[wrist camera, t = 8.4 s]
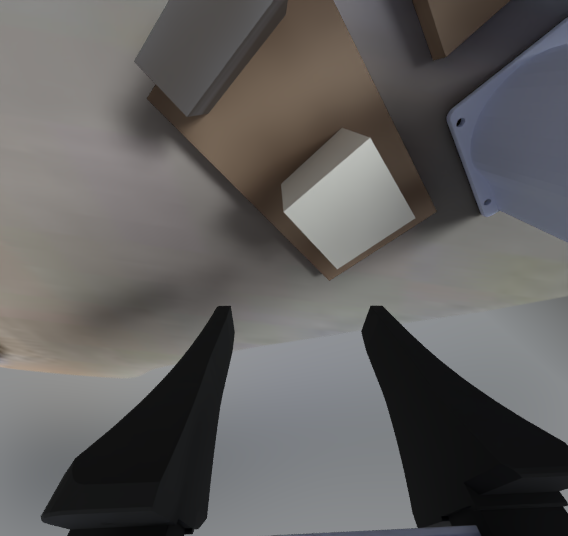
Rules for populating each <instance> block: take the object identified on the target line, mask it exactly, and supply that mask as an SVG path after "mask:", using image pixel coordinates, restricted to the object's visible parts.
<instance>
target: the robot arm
mask: <svg viewBox="0 0 568 536" xmlns="http://www.w3.org/2000/svg"><path fill="white" fill-rule="evenodd" d="M460 118H461V122H460V124H459V125H458V126H456V123H457V121H458V120H459V119H460ZM447 123H448V126H449V128H450V131H451V134H452V137H453V139H454V142H455V145H456V147H457V150H458V153H459V156H460V158H461V161H462V164H463V166H464V169H465V172H466V175H467V177H468V180H469V183H470V185H471V188H472V191H473V194H474V196H475V199H476V202H477V205H478V207H479V210H480V213H481V214H482V215H483V216H486V217H488V216H491V215H493V214H495V213H496V212H498V211H502V212H504V213H506V214H508V215H511V216H513V217H515V218H517V219H519V220H521V221H523V222H525V223H527V224H530V225H532V226H534V227H536V228H538V229H540V230H542V231H544V232H547V233H549V234H551V235H553V236H555V237H557V238H559V239H561V240H563V241H566V242H568V17H567V18H566V19H564V20H563V21H562V22H561V23H559V24H558V25H557V26H556V27H554V28H553V29H552V30H551V31H549V32H548V33H547V34H545V35H544V36H543V37H542V38H540V39H539V40H538V41H537V42H535V43H534V44H533V45H532V46H530V47H529V48H528V49H527V50H525V51H524V52H523V53H521V54H520V55H519V56H518V57H516V58H515V59H514V60H513V61H511V62H510V63H509V64H508V65H506V66H505V67H504V68H503V69H501V70H500V71H499V72H497V73H496V74H495V75H494V76H492V77H491V78H490V79H489V80H487V81H486V82H485V83H484V84H482V85H481V86H480V87H479V88H477V89H476V90H475V91H473V92H472V93H471V94H470V95H468V96H467V97H466V98H465V99H463V100H462V101H461V102H460V103H458V104H457V105H456V106H454V107H453V108H452V109H451V110H450V111H449V113H448V115H447ZM486 200H487V201H486ZM485 201H486V202H485ZM484 202H485V203H484ZM361 332H362V336H363V340H364V344H365V348H366V351H367V354H368V356H369V359H370V362H371V364H372V367H373V369H374V372H375V374H376V377H377V379H378V382H379V385H380V387H381V390H382V392H383V395H384V398H385V401H386V404H387V407H388V411H389V414H390V418H391V421H392V424H393V428H394V432H395V436H396V440H397V444H398V447H399V451H400V456H401V460H402V464H403V468H404V473H405V478H406V482H407V487H408V492H409V497H410V501H411V507H412V512H413V515H414V518H415V521H416V524H417V527H418V528H411V529H392V530H372V531H352V532H332V533H312V534H294V535H293V534H292V535H273V536H568V513H567V512H566V510H565V509H564V507H563V506H567V505H568V503H567V501H566V500H565V499H564V497H563V496H562V494H561V493H560V492H559V491H561V490H564V489H568V445H567V444H566V443H565V442H563V441H561V440H560V439H558V438H556V437H554V436H553V435H551V434H549V433H547V432H546V431H544V430H542V429H540V428H539V427H537V426H535V425H534V424H532V423H530V422H528V421H526V420H525V419H523V418H522V417H520V416H518V415H516V414H515V413H514V412H512V411H510V410H509V409H507V408H505V407H504V406H502V405H501V404H499V403H498V402H496V401H495V400H493V399H492V398H490V397H489V396H487V395H486V394H484V393H483V392H481V391H480V390H479V389H477V388H476V387H474V386H473V385H471V384H470V383H469V382H467V381H466V380H464V379H463V378H462V377H460V376H459V375H458V374H457V373H455V372H454V371H453V370H452V369H450V368H449V367H448V366H447V365H445V364H444V363H443V362H442V361H440V360H439V359H438V358H437V357H436V356H435V355H433V354H432V353H431V352H430V351H429V350H428V349H426V348H425V347H424V346H423V345H422V344H421V343H420V342H419V341H417V339H416V338H414V337H413V336H412V335H411V334H410V333H409V332H408V331H407V330H406V329H405V328H404V327H403V326H402V325H401V324H400V323H399V322H398V321H397V320H396V319H395V318H394V317H393V316H392V315H391V314H390V313H389V312H388V311H387V310H386V309H385V308H384V307H383V306H370V309H369V312H368V314H367V317H366V320H365V323H364V325H363V328H362V331H361ZM234 333H235V331H234V325H233V318H232V311H231V306H218V307H217V308H216V310H215V311H214V313H213V315H212V316H211V318H210V320H209V321H208V323H207V324H206V326H205V327H204V329H203V330H202V332H201V333H200V334H199V336H198V337H197V339H196V340H195V341H194V343H193V344H192V345H191V347H190V348H189V349H188V351H187V352H186V353H185V354H184V356H183V357H182V358H181V359H180V361H179V362H178V363H177V364H176V365H175V367H174V368H173V369H172V370H171V371H170V372H169V373H168V375H167V376H166V377H165V378H164V379H163V380H162V381H161V382H160V383H159V384H158V385H157V386H156V387H155V388H154V389H153V390H152V391H151V392H150V393H149V394H148V395H147V396H146V397H145V398H144V399H143V400H142V401H141V402H140V403H139V404H138V405H137V406H136V407H135V408H134V409H133V410H131V411H130V412H129V413H128V414H127V415H126V416H125V417H124V418H123V419H122V420H120V421H119V422H118V423H117V424H116V425H115V426H114V427H113V428H111V429H110V430H109V431H108V432H107V433H105V434H104V435H103V436H102V437H101V438H99V439H98V440H97V441H96V442H95V443H93V444H92V445H91V446H90V447H89V448H87V449H86V450H85V451H84V452H82V453H81V454H80V455H79V456H78V457H77V458H75V460H74V461H73V463H72V464H71V466H70V467H69V469H68V470H67V472H66V473H65V475H64V476H63V478H62V480H61V482H60V483H59V485H58V487H57V489H56V490H55V492H54V494H53V496H52V497H51V499H50V501H49V503H48V505H47V506H46V509H45V510H44V512H43V514H42V516H41V520H42V521H43V522H44V523H47V524H50V525H54V526H59V527H62V528H67V529H70V531H69V533H68V535H67V536H184V534H193V532H194V529H198V528H199V527H200V526H201V525H202V524H203V522H204V521H205V520H206V518H207V511H208V502H209V492H210V483H211V474H212V465H213V457H214V449H215V441H216V433H217V426H218V419H219V411H220V405H221V400H222V395H223V390H224V386H225V382H226V377H227V373H228V369H229V364H230V360H231V355H232V350H233V342H234Z"/></svg>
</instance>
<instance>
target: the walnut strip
mask: <svg viewBox="0 0 568 536" xmlns="http://www.w3.org/2000/svg"><path fill="white" fill-rule="evenodd" d="M134 62H135V63H136V64H137V65H138V66H139V67H140V68H141V69H142V70H143V71H144V72H145V73H146V75H147V76H148V77H149V78H150V79H151V80H152V81H153V82H154V83H155V84H156V85H155V86H154V88H153V89H152V91H151V93H150V94H149V96H148V97H147V99H148V100H149V101H150V102H151V103H152V104H153V105H154V106H155V107H156V108H157V109H158V110H159V111H160V112H161V113H162V114H163V115H164V116H165V117H166V118H167V119H168V120H169V121H170V122H171V123H172V124H173V125H174V126H175V127H176V128H177V129H178V130H179V131H180V132H181V133H182V134H183V135H184V136H185V137H186V138H187V139H188V140H189V141H190V142H191V143H192V144H193V145H194V146H195V147H196V148H197V149H198V150H199V151H200V152H201V153H202V154H203V155H204V156H205V157H206V158H207V159H208V160H209V161H210V162H211V163H212V164H213V165H214V166H215V167H216V168H217V169H218V170H219V171H220V172H221V173H222V174H223V175H224V176H225V177H226V178H227V179H228V180H229V181H230V182H231V183H232V184H233V185H234V186H235V187H236V188H237V189H238V190H239V191H240V192H241V193H242V194H243V195H244V196H245V197H246V198H247V199H248V200H249V201H250V202H251V203H252V204H253V205H254V206H255V207H256V208H257V209H258V210H259V211H260V212H261V213H262V214H263V215H264V216H265V217H266V218H267V219H268V220H269V221H270V222H271V223H272V224H273V225H274V226H275V227H276V228H277V229H278V230H279V231H280V232H281V233H282V234H283V235H284V236H285V237H286V238H287V239H288V240H289V241H290V242H291V243H292V244H293V245H294V246H295V247H296V248H297V249H298V250H299V251H300V252H301V253H302V254H303V255H304V256H305V257H306V258H307V259H308V260H309V261H310V262H311V263H312V264H313V265H314V266H315V267H316V268H317V269H318V270H319V271H320V272H321V273H322V274H323V275H324V276H325V277H326V278H327V279H328V280H329V281H330V280H331V279H333V278H334V277H336V276H338V275H339V274H341V273H342V272H344V271H345V270H347V269H348V268H350V267H352V266H353V265H355V264H356V263H358V262H359V261H361V260H362V259H364V258H366V257H367V256H369V255H370V254H372V253H373V252H375V251H377V250H378V249H380V248H381V247H383V246H384V245H386V244H387V243H389V242H391V241H392V240H394V239H395V238H397V237H398V236H400V235H401V234H403V233H405V232H406V231H408V230H409V229H411V228H412V227H414V226H415V225H417V224H419V223H420V222H422V221H423V220H425V219H426V218H428V217H429V216H431V215H433V214H434V213H436V212H437V210H436V208H435V206H434V204H433V202H432V200H431V198H430V196H429V194H428V192H427V190H426V188H425V186H424V184H423V182H422V180H421V178H420V176H419V174H418V172H417V170H416V168H415V166H414V164H413V162H412V160H411V158H410V156H409V154H408V152H407V149H406V147H405V145H404V143H403V141H402V139H401V137H400V135H399V133H398V131H397V129H396V127H395V125H394V123H393V121H392V119H391V117H390V115H389V113H388V111H387V109H386V107H385V105H384V103H383V101H382V99H381V97H380V95H379V93H378V91H377V88H376V86H375V84H374V82H373V80H372V78H371V76H370V74H369V72H368V70H367V68H366V66H365V64H364V62H363V60H362V58H361V56H360V54H359V52H358V50H357V48H356V46H355V44H354V42H353V40H352V38H351V36H350V34H349V32H348V29H347V27H346V25H345V23H344V21H343V19H342V17H341V15H340V13H339V11H338V9H337V7H336V5H335V3H334V1H333V0H169V1H168V3H167V5H166V6H165V8H164V10H163V12H162V13H161V15H160V17H159V19H158V20H157V22H156V24H155V26H154V27H153V29H152V31H151V33H150V34H149V36H148V38H147V40H146V41H145V43H144V45H143V47H142V48H141V50H140V52H139V54H138V55H137V57H136V59H135V61H134ZM341 128H344V129H347V130H350V131H353V132H356V133H358V134H361V135H364V136H367V137H370V138H371V140H372V142H373V144H374V145H375V147H376V149H377V151H378V152H379V154H380V156H381V158H382V159H383V161H384V163H385V165H386V167H387V168H388V170H389V172H390V174H391V175H392V177H393V179H394V181H395V183H396V184H397V186H398V188H399V190H400V191H401V193H402V195H403V197H404V198H405V200H406V202H407V204H408V206H409V207H410V209H411V211H412V213H413V214H414V216H415V219H413V220H412V221H410V222H409V223H407V224H406V225H404V226H403V227H401V228H400V229H398V230H397V231H395V232H394V233H392V234H390V235H389V236H387V237H386V238H384V239H383V240H381V241H380V242H378V243H377V244H375V245H374V246H372V247H371V248H369V249H368V250H366V251H365V252H363V253H361V254H360V255H358V256H357V257H355V258H354V259H352V260H351V261H349V262H348V263H346V264H345V265H343V266H342V267H340V268H339V269H336V268H335V266H334V265H333V264H332V263H331V262H330V261H329V260H328V259H327V258H326V257H325V256H324V255H323V254H322V253H321V251H320V250H319V249H318V248H317V247H316V246H315V245H314V244H313V243H312V242H311V241H310V240H309V239H308V238H307V236H306V235H305V234H304V233H303V232H302V231H301V230H300V229H299V228H298V227H297V226H296V225H295V224H294V223H293V221H292V220H291V219H290V218H289V217H288V216H287V215H286V214H285V213H284V212H283V200H282V189H281V184H282V183H283V182H284V181H285V180H286V179H287V178H288V177H289V176H290V175H291V174H292V173H294V172H295V171H296V170H297V169H298V168H299V167H300V166H301V165H302V164H303V163H304V162H305V161H307V160H308V159H309V158H310V157H311V156H312V155H313V154H314V153H315V152H316V151H317V150H318V149H320V148H321V147H322V146H323V145H324V144H325V143H326V142H327V141H328V140H329V139H330V138H332V137H333V136H334V135H335V134H336V133H337V132H338V131H339V130H340V129H341Z"/></svg>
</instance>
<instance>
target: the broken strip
mask: <svg viewBox="0 0 568 536" xmlns="http://www.w3.org/2000/svg"><path fill="white" fill-rule="evenodd" d="M412 1H413V4H414V7H415V10H416V13H417V16H418V19H419V21H420V24H421V27H422V30H423V33H424V36H425V38H426V41H427V44H428V47H429V50H430V53H431V56H432V58H433V61H434V60H437V59H441V58H445V57H447V56H448V55H449V54H450V53H451V52H452V51H453V50H455V49H456V48H457V47H458V46H459V45H460V44H461V43H463V42H464V41H465V40H466V39H467V38H468V37H469V36H471V35H472V34H473V33H474V32H475V31H476V30H477V29H478V28H480V27H481V26H482V25H483V24H484V23H485V22H486V21H488V20H489V19H490V18H491V17H492V16H493V15H494V14H495V13H497V12H498V11H499V10H500V9H501V8H502V7H503V6H505V5H506V4H507V3H508V2H509V1H510V0H412Z"/></svg>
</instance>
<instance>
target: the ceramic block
mask: <svg viewBox="0 0 568 536" xmlns="http://www.w3.org/2000/svg"><path fill="white" fill-rule="evenodd" d="M281 189H282V200H283V212H284V213H285V214H286V215H287V216H288V217H289V218H290V219H291V220H292V221H293V223H294V224H295V225H296V226H297V227H298V228H299V229H300V230H301V231H302V232H303V233H304V234H305V235H306V236H307V238H308V239H309V240H310V241H311V242H312V243H313V244H314V245H315V246H316V247H317V248H318V249H319V250H320V251H321V253H322V254H323V255H324V256H325V257H326V258H327V259H328V260H329V261H330V262H331V263H332V264H333V265H334V266H335V268H336V269H339V268H340V267H342V266H343V265H345V264H346V263H348V262H349V261H351V260H352V259H354V258H355V257H357V256H358V255H360V254H361V253H363V252H365V251H366V250H368V249H369V248H371V247H372V246H374V245H375V244H377V243H378V242H380V241H381V240H383V239H384V238H386V237H387V236H389V235H390V234H392V233H394V232H395V231H397V230H398V229H400V228H401V227H403V226H404V225H406V224H407V223H409V222H410V221H412V220H413V219H415V216H414V214H413V213H412V211H411V209H410V207H409V206H408V204H407V202H406V200H405V198H404V197H403V195H402V193H401V191H400V190H399V188H398V186H397V184H396V183H395V181H394V179H393V177H392V175H391V174H390V172H389V170H388V168H387V167H386V165H385V163H384V161H383V159H382V158H381V156H380V154H379V152H378V151H377V149H376V147H375V145H374V144H373V142H372V140H371V138H370V137H367V136H364V135H361V134H358V133H356V132H353V131H350V130H347V129H344V128H341V129H340V130H339V131H338V132H337V133H336V134H335V135H334V136H333V137H332V138H330V139H329V140H328V141H327V142H326V143H325V144H324V145H323V146H322V147H321V148H320V149H318V150H317V151H316V152H315V153H314V154H313V155H312V156H311V157H310V158H309V159H308V160H307V161H305V162H304V163H303V164H302V165H301V166H300V167H299V168H298V169H297V170H296V171H295V172H294V173H292V174H291V175H290V176H289V177H288V178H287V179H286V180H285V181H284V182H283V183H282V184H281Z"/></svg>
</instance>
